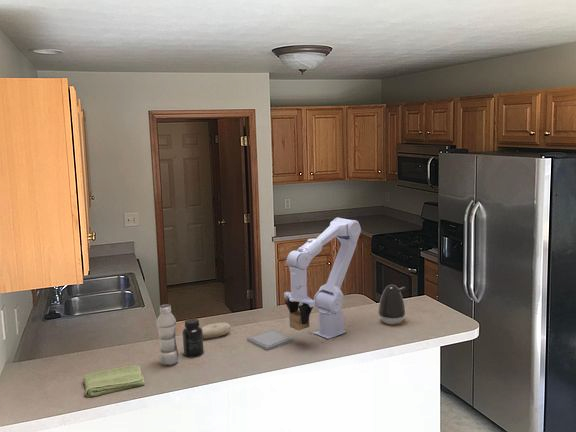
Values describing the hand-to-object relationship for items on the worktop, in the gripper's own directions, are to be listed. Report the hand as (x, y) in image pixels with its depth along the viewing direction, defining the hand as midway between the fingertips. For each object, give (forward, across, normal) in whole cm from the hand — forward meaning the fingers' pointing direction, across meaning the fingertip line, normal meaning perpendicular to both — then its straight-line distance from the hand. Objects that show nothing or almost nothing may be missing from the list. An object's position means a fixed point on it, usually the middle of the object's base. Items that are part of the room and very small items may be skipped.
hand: (299, 321), depth 192 cm
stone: (+9, -28, -18) cm, 34 cm away
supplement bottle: (+9, -20, -32) cm, 39 cm away
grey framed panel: (+9, -10, -6) cm, 14 cm away
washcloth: (+9, -18, -62) cm, 65 cm away
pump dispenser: (+9, +9, +40) cm, 42 cm away
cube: (+2, 0, 0) cm, 2 cm away
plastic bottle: (+9, -19, -42) cm, 47 cm away
